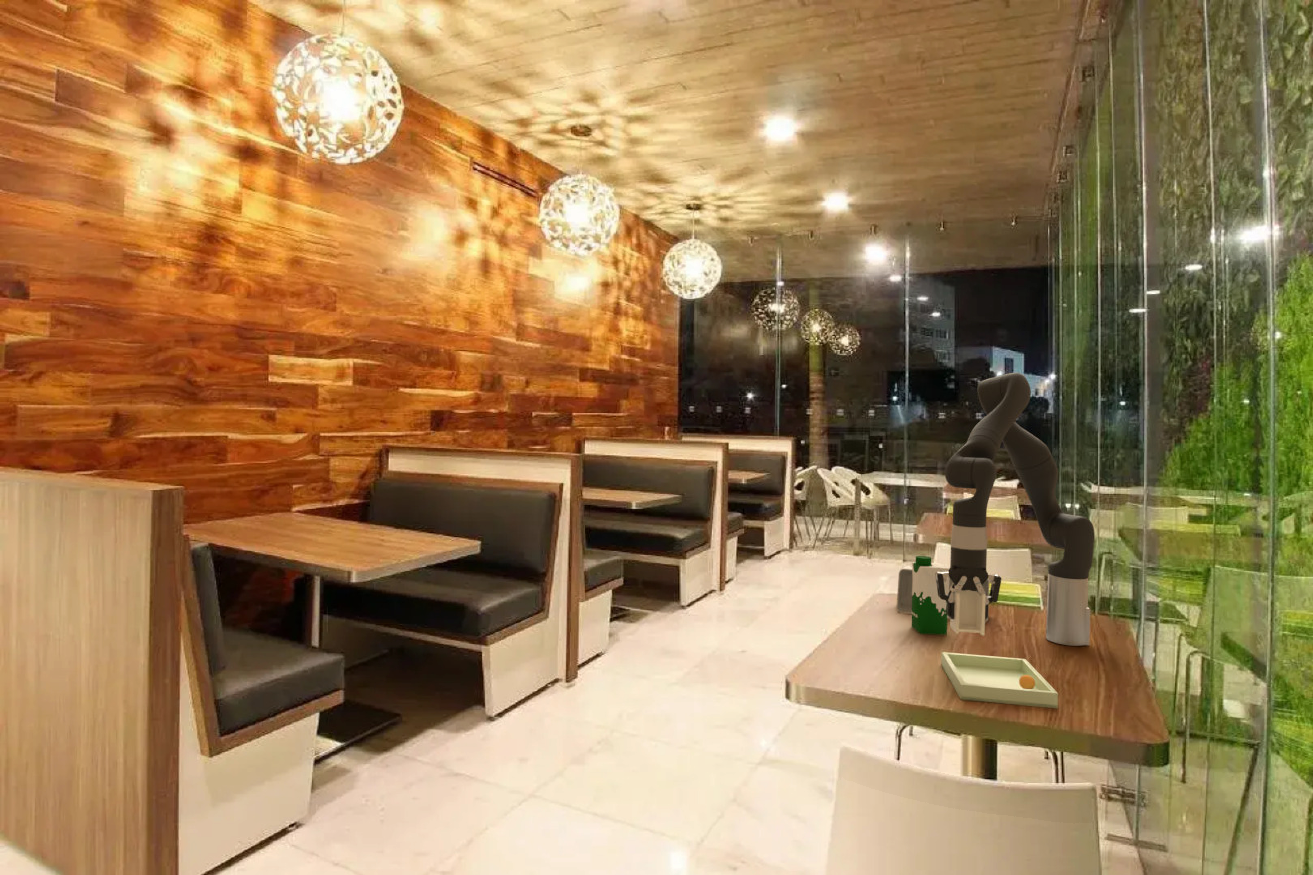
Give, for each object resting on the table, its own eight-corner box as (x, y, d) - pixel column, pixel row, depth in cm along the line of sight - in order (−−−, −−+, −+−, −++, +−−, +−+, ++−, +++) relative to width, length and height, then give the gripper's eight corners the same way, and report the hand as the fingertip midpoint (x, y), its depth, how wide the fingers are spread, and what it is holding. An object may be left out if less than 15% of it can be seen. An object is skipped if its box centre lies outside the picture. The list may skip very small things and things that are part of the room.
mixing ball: (1016, 685, 155) (1017, 672, 155) (1032, 686, 155) (1032, 672, 154) (1021, 692, 152) (1021, 678, 152) (1036, 693, 152) (1037, 679, 151)
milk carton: (907, 625, 203) (909, 554, 203) (940, 626, 203) (942, 555, 203) (917, 634, 195) (920, 559, 194) (952, 635, 194) (954, 560, 194)
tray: (1025, 672, 166) (1025, 659, 166) (1057, 708, 145) (1058, 693, 145) (941, 664, 170) (941, 652, 170) (960, 699, 148) (961, 684, 148)
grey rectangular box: (987, 611, 223) (989, 570, 223) (988, 623, 208) (989, 580, 208) (901, 601, 233) (902, 562, 233) (896, 612, 218) (897, 570, 218)
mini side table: (949, 626, 169) (950, 587, 169) (977, 628, 168) (978, 589, 168) (955, 633, 164) (956, 593, 163) (984, 635, 163) (985, 595, 162)
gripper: (997, 544, 168) (995, 617, 168) (932, 541, 171) (930, 613, 171) (1007, 549, 161) (1005, 625, 161) (938, 546, 163) (936, 621, 164)
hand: (966, 618), depth 166 cm, fingers closed on mini side table, 6 cm apart
